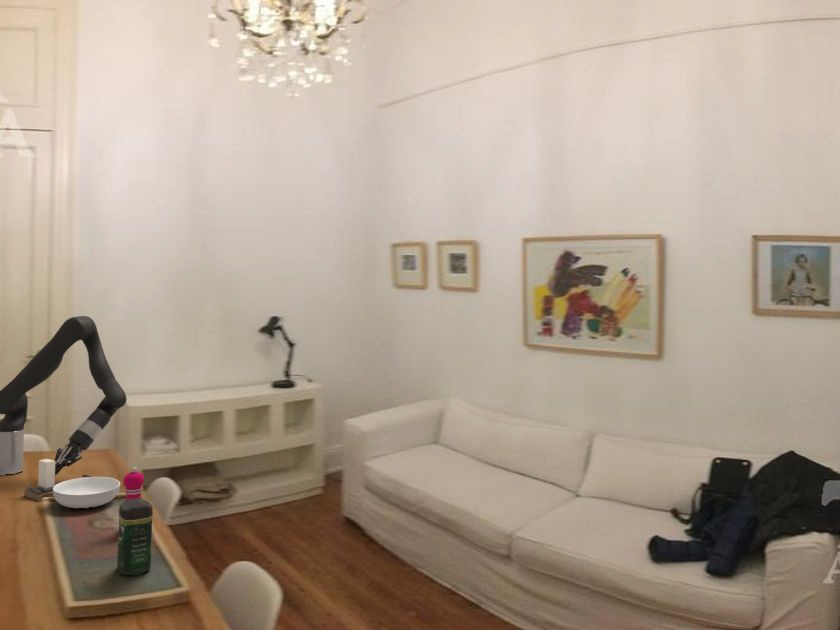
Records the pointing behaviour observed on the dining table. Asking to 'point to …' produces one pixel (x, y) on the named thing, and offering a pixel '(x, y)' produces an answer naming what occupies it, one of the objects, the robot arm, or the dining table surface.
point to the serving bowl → (86, 491)
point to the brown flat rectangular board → (41, 492)
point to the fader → (46, 475)
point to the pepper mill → (133, 484)
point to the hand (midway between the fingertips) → (52, 473)
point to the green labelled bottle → (134, 536)
